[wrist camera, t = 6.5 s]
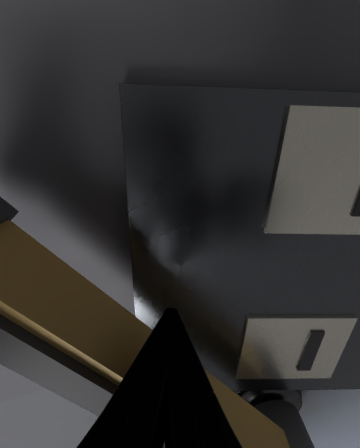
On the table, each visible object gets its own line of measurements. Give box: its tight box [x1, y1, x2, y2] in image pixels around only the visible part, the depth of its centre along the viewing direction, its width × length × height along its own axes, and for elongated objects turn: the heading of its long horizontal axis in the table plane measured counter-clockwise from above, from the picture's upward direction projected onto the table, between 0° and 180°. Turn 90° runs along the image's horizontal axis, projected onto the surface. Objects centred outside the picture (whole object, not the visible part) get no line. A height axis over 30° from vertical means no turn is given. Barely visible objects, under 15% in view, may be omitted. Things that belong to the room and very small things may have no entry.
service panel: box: [119, 83, 360, 412], centre depth 12 cm, size 22×18×1 cm
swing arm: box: [0, 197, 314, 448], centre depth 10 cm, size 23×4×4 cm, turn 41°
